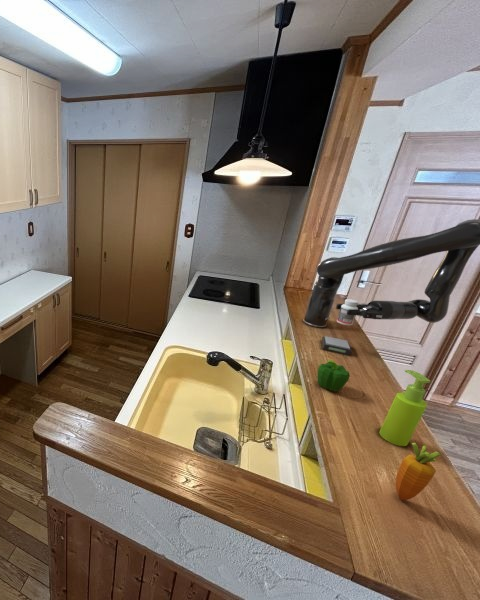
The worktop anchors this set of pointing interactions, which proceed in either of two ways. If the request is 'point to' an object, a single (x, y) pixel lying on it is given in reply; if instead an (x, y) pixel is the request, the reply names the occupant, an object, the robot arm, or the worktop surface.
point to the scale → (336, 345)
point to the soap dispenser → (405, 412)
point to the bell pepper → (332, 376)
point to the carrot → (415, 473)
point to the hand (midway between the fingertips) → (342, 309)
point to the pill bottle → (343, 316)
